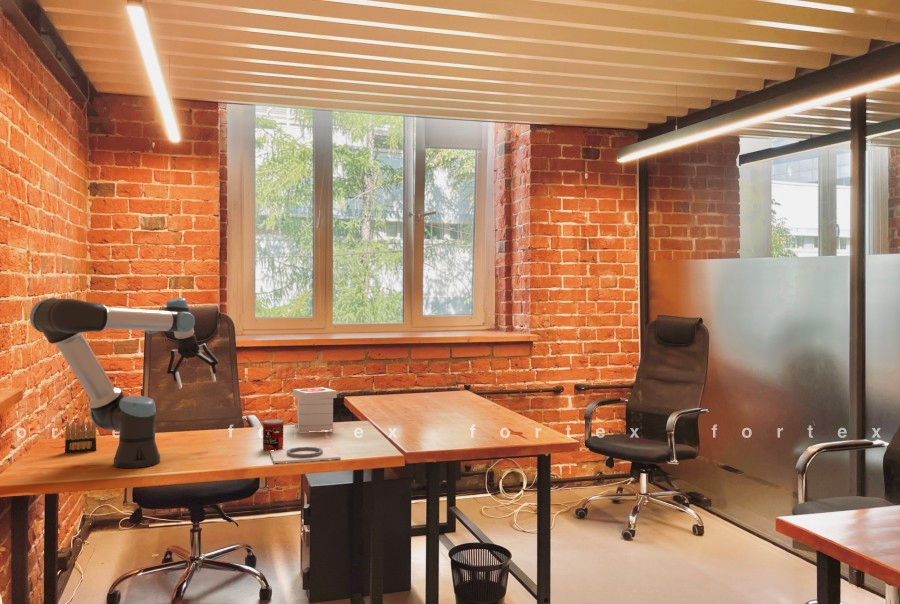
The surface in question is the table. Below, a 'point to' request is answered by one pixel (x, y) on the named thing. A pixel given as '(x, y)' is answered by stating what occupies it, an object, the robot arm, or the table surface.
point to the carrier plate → (304, 454)
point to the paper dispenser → (315, 408)
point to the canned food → (273, 434)
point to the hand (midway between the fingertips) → (197, 384)
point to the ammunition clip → (80, 438)
